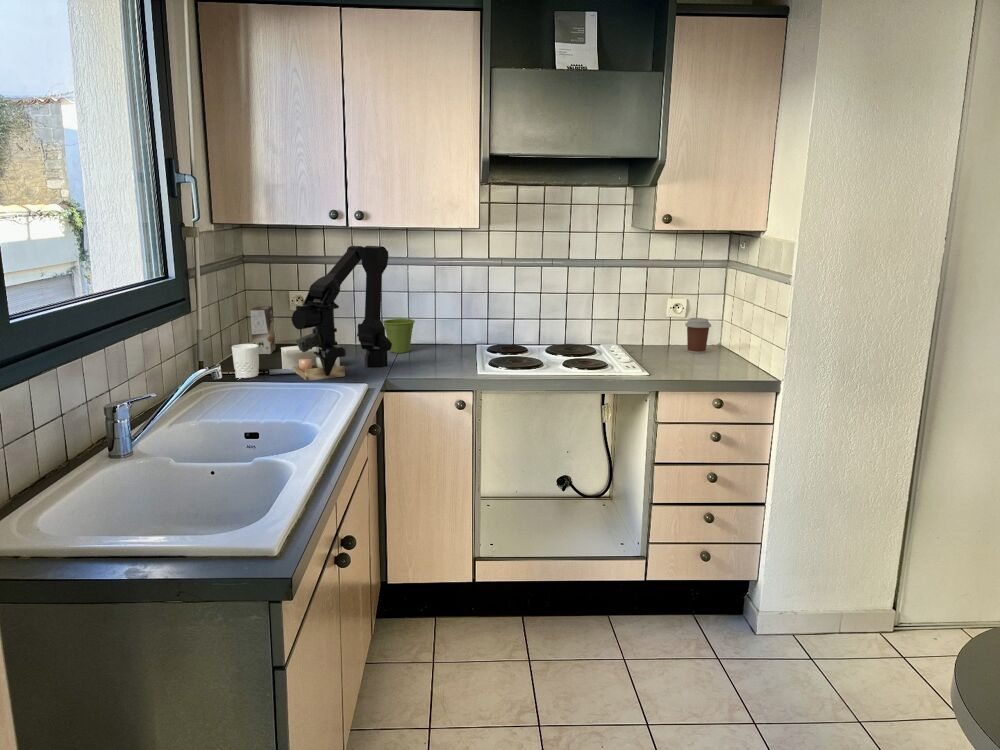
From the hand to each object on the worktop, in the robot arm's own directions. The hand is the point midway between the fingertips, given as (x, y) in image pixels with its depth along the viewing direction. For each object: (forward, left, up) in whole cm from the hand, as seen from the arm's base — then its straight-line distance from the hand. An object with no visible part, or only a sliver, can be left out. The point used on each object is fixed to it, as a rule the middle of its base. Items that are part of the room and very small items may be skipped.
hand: (327, 375), depth 228 cm
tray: (0, -9, -2) cm, 9 cm away
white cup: (+20, -18, -2) cm, 27 cm away
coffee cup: (-132, +20, -2) cm, 134 cm away
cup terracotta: (+3, -13, -1) cm, 14 cm away
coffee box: (+6, -56, -2) cm, 56 cm away
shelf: (0, -17, -2) cm, 17 cm away
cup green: (-3, -13, -1) cm, 14 cm away
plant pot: (-37, -33, -2) cm, 49 cm away
